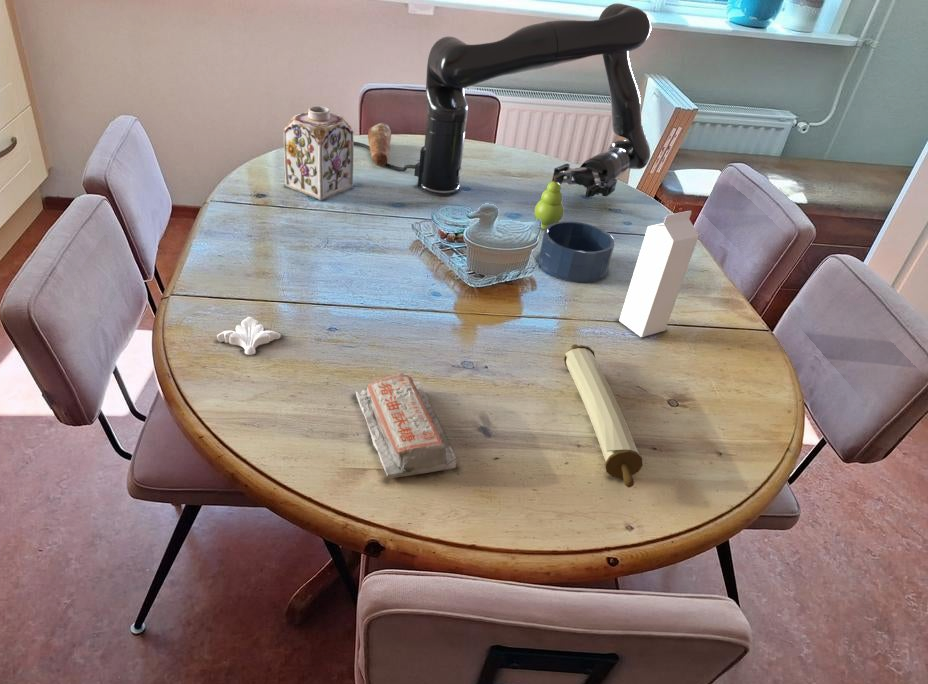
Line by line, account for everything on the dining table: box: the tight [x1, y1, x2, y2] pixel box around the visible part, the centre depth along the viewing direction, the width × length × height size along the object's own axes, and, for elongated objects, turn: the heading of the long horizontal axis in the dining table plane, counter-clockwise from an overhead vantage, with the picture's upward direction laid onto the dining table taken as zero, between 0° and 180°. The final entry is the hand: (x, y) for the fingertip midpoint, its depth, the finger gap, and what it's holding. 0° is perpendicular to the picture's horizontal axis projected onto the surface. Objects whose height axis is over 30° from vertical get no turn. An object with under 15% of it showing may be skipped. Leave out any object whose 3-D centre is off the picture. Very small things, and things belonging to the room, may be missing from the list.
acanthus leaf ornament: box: [216, 316, 281, 356], centre depth 114 cm, size 8×7×2 cm
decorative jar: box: [283, 105, 355, 201], centre depth 160 cm, size 12×12×18 cm
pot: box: [538, 220, 616, 283], centre depth 142 cm, size 14×14×6 cm
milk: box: [618, 210, 700, 338], centre depth 121 cm, size 6×6×22 cm
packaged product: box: [355, 372, 458, 480], centre depth 98 cm, size 18×5×10 cm
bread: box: [367, 122, 392, 167], centre depth 183 cm, size 6×19×6 cm, turn 1°
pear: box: [533, 176, 564, 230], centre depth 155 cm, size 6×6×12 cm
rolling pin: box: [563, 343, 644, 488], centre depth 104 cm, size 32×6×5 cm, turn 3°
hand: (570, 187), depth 160 cm, fingers open, 8 cm apart
